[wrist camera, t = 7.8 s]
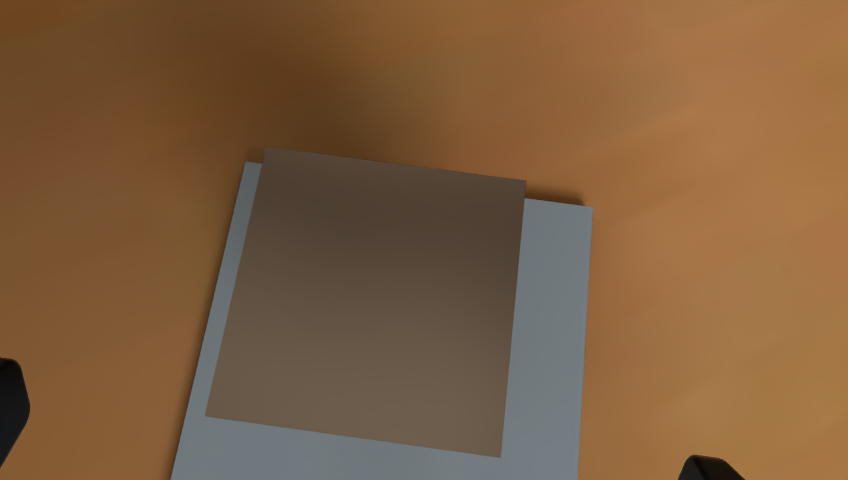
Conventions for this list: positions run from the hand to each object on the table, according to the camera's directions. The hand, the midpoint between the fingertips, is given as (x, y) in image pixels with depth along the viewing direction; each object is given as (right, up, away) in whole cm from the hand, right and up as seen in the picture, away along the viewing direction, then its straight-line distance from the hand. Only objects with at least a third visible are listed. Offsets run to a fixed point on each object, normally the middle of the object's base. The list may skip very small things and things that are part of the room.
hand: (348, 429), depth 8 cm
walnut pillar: (0, -1, +11) cm, 11 cm away
